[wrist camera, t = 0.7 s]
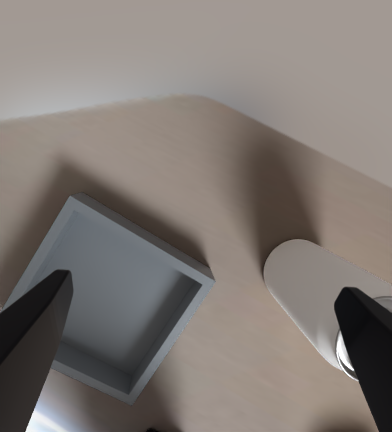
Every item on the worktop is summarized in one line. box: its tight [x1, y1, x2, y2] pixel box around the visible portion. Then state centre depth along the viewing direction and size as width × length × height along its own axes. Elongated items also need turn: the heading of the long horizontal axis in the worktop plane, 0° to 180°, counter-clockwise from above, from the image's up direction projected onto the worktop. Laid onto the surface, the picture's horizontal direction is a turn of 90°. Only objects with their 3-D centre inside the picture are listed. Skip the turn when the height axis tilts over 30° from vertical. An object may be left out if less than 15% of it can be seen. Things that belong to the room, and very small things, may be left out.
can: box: [264, 239, 392, 382], centre depth 23 cm, size 6×6×12 cm
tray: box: [0, 192, 216, 406], centre depth 26 cm, size 14×14×3 cm
